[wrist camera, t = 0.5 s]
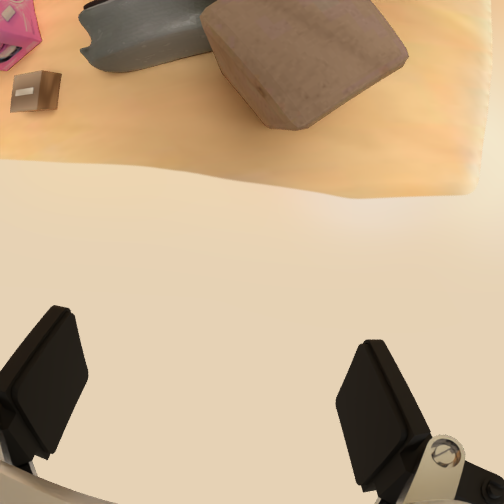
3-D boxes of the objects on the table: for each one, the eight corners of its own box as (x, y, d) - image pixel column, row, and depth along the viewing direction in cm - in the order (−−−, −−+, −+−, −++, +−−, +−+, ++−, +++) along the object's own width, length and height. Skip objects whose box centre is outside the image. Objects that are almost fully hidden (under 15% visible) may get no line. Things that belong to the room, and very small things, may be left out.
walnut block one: (35, 77, 30) (13, 75, 25) (61, 74, 31) (41, 70, 26) (31, 111, 32) (9, 112, 27) (57, 109, 32) (36, 109, 28)
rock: (235, -27, 27) (233, -57, 19) (251, 45, 31) (252, 26, 24) (98, 11, 28) (70, -6, 20) (106, 82, 32) (76, 76, 25)
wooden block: (269, 131, 35) (297, 138, 17) (217, 68, 32) (190, 11, 14) (335, 87, 33) (419, 58, 15) (284, 24, 30) (322, -58, 11)
